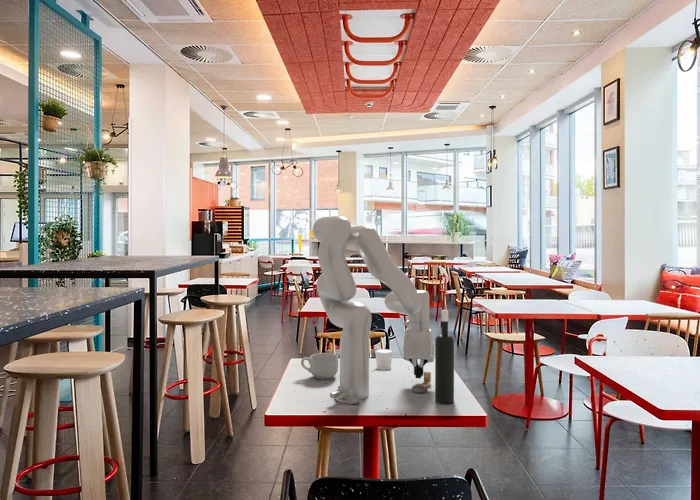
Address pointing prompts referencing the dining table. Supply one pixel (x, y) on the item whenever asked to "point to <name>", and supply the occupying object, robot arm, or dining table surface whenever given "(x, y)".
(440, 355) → the wine bottle
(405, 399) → the dining table surface
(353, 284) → the robot arm
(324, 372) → the teacup
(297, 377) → the dining table surface
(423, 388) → the multicoloured piece
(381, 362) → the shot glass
